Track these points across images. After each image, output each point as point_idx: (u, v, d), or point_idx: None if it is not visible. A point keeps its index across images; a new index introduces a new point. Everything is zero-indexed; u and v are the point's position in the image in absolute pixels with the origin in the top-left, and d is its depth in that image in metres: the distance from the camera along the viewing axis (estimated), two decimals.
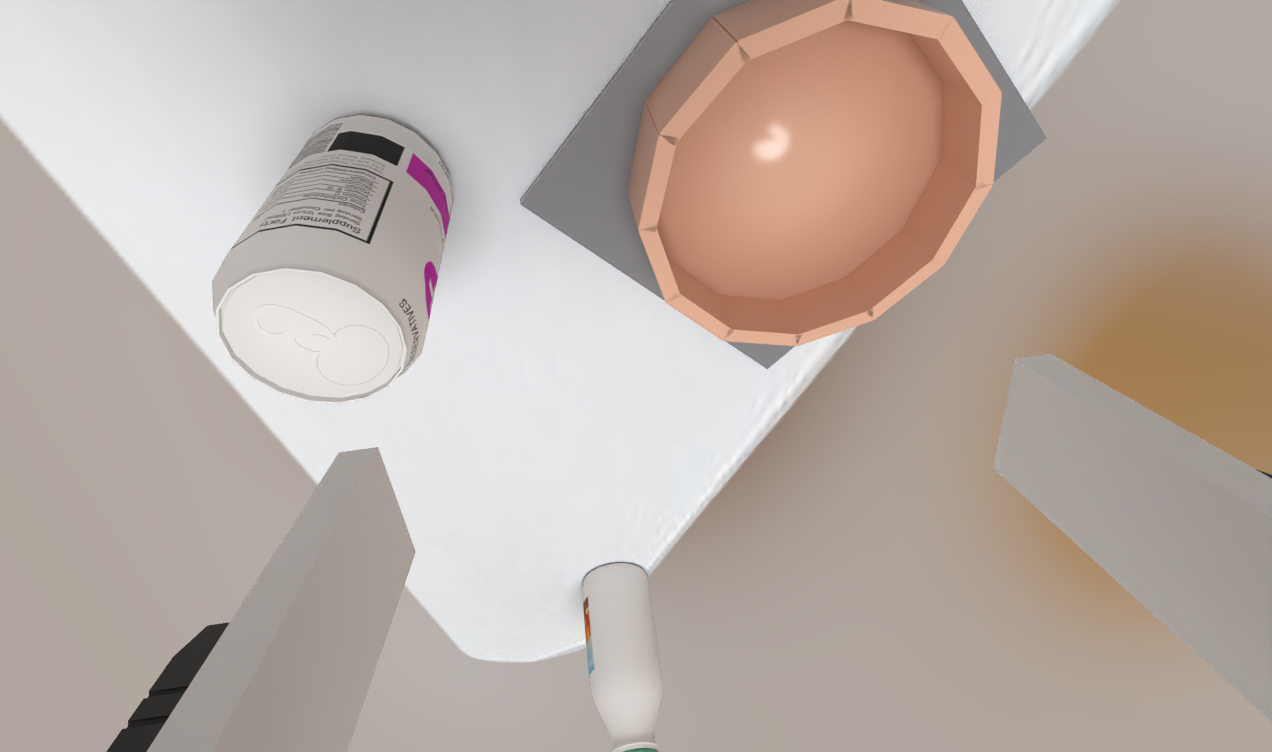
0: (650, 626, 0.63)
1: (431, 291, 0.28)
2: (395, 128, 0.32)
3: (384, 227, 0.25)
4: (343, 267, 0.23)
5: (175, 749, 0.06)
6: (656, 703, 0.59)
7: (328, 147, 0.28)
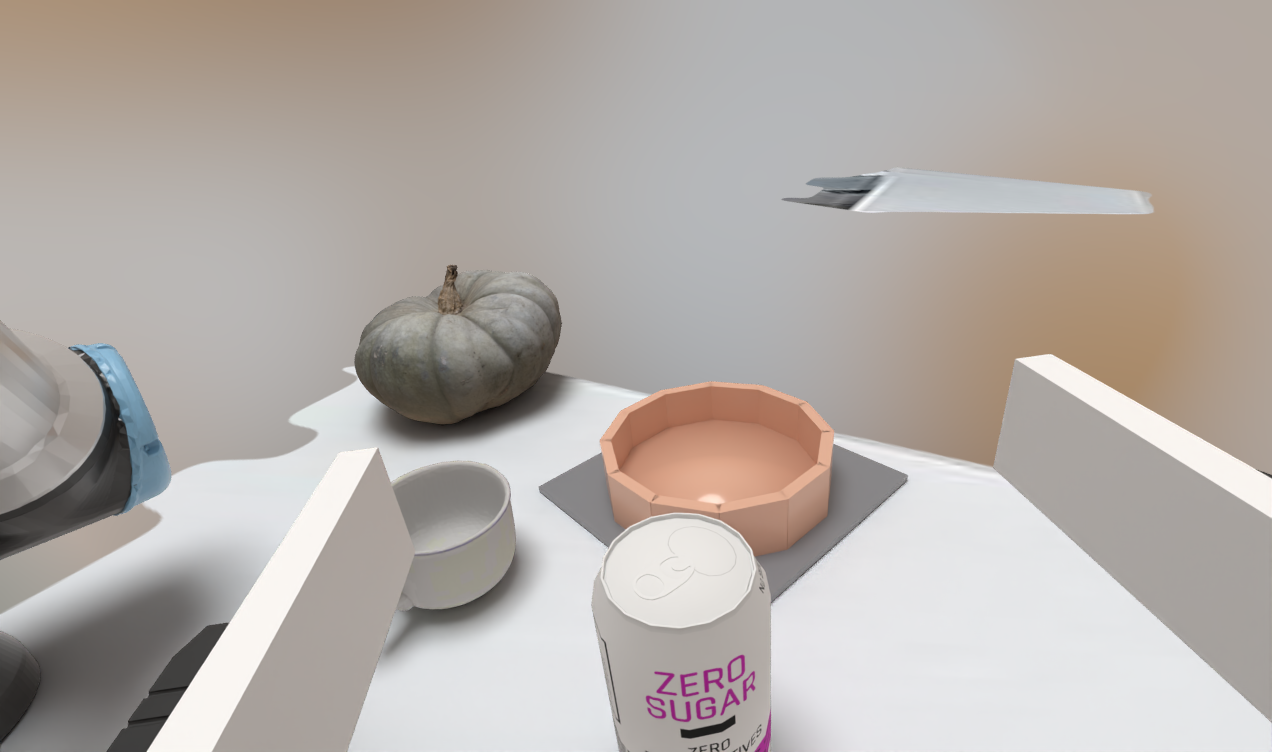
0: None
1: None
2: None
3: None
4: None
5: (175, 749, 0.06)
6: None
7: None
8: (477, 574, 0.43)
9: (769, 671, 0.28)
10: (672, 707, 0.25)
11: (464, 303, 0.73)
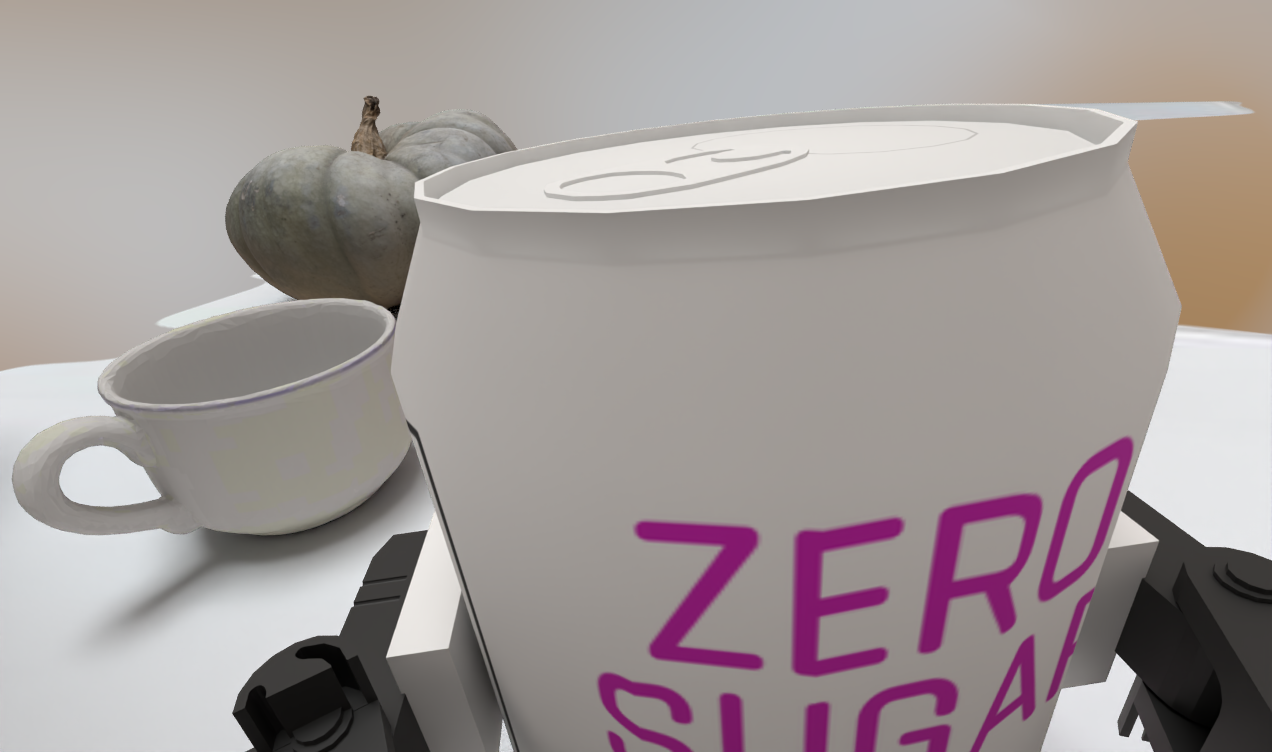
0: None
1: None
2: None
3: None
4: None
5: (426, 607, 0.08)
6: None
7: None
8: (316, 463, 0.23)
9: None
10: (733, 733, 0.05)
11: None
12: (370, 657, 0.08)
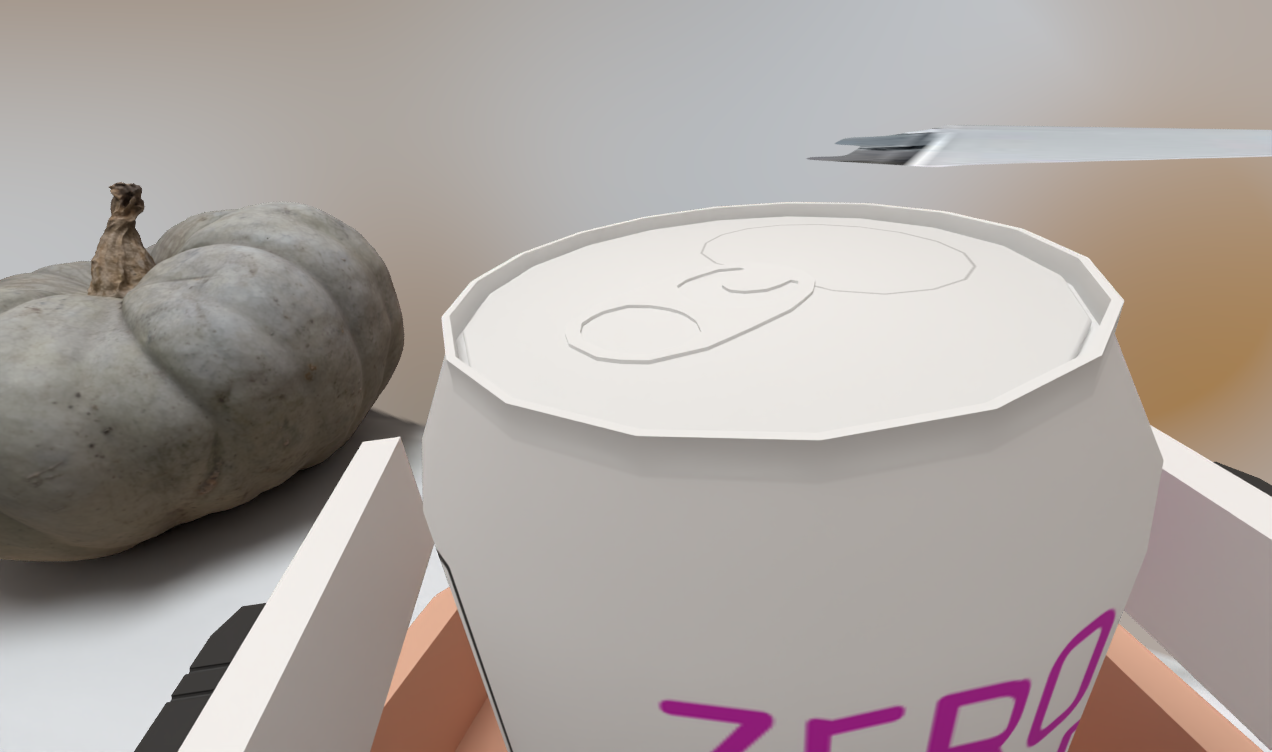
0: None
1: None
2: None
3: None
4: None
5: (224, 718, 0.07)
6: None
7: None
8: None
9: None
10: None
11: None
12: None
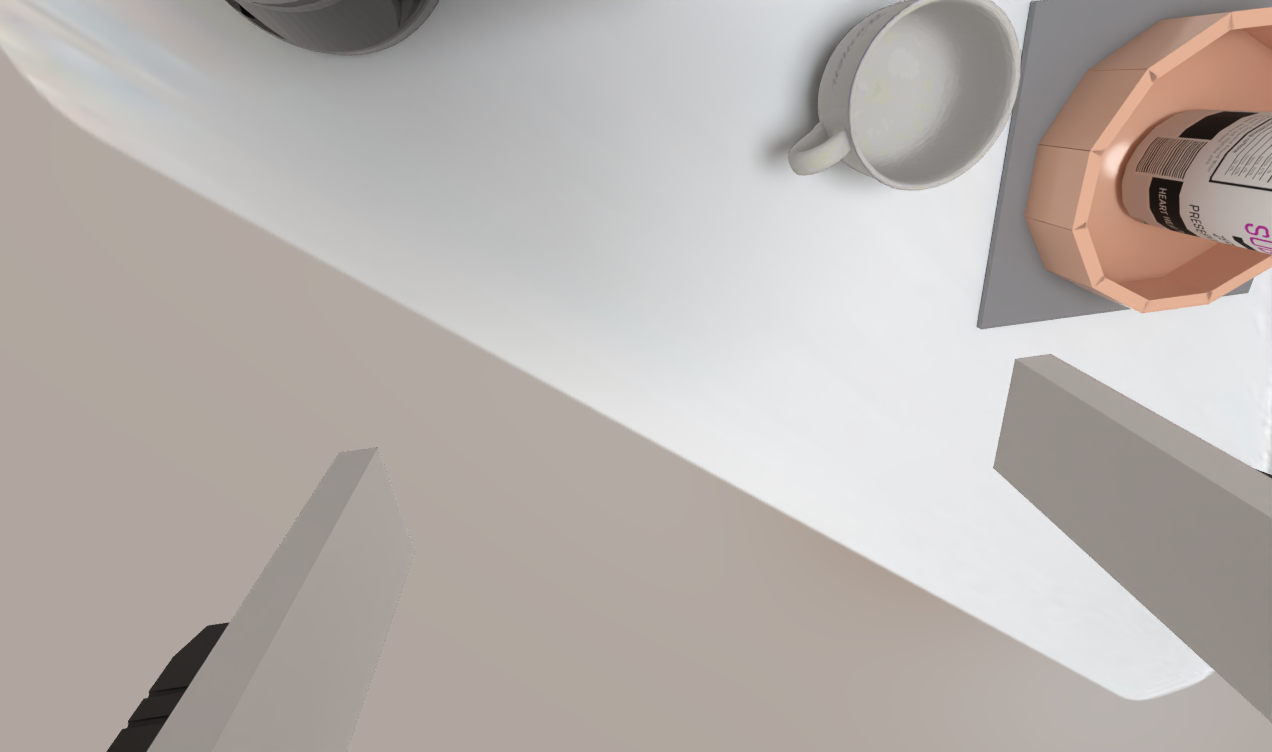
0: None
1: None
2: (1190, 113, 0.42)
3: None
4: None
5: (175, 749, 0.06)
6: None
7: (1202, 140, 0.39)
8: None
9: None
10: (1263, 240, 0.36)
11: None
12: None
